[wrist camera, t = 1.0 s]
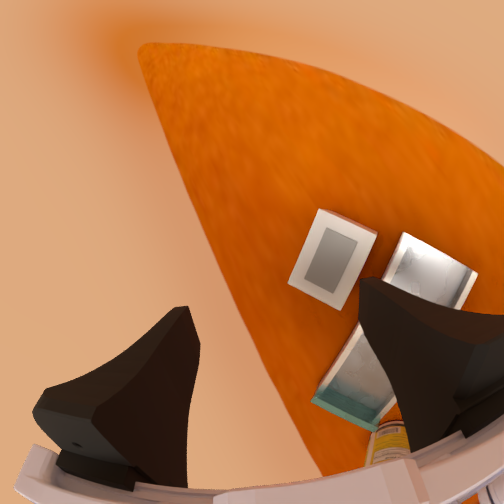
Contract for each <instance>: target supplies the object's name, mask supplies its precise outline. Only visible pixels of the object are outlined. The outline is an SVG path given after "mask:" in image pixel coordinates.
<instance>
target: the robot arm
mask: <svg viewBox="0 0 504 504" xmlns="http://www.w3.org/2000/svg"><path fill="white" fill-rule="evenodd" d="M358 320H359V322H360V325H361V327H362V330H363V332H364V335H365V337H366V339H367V341H368V343H369V345H370V346H371V348H372V350H373V352H374V353H375V355H376V357H377V359H378V360H379V362H380V364H381V366H382V368H383V369H384V371H385V373H386V375H387V377H388V379H389V381H390V384H391V386H392V389H393V391H394V394H395V397H396V400H397V403H398V406H399V409H400V412H401V415H402V418H403V422H404V426H405V429H406V433H407V437H408V442H409V447H410V452H411V454H408V455H406V456H403V457H401V458H395V459H391V460H387V461H383V462H379V463H376V464H372V465H369V466H366V467H362V468H359V469H355V470H351V471H348V472H344V473H339V474H335V475H331V476H326V477H321V478H316V479H310V480H304V481H298V482H291V483H284V484H274V485H263V486H252V487H244V488H235V489H230V490H212V489H190V488H188V483H187V430H188V429H187V428H188V416H189V409H190V403H191V398H192V394H193V389H194V384H195V380H196V375H197V371H198V366H199V358H200V341H199V338H198V335H197V332H196V329H195V326H194V323H193V319H192V316H191V313H190V310H189V307H188V306H182V307H175V308H173V309H172V310H171V311H169V312H168V313H167V314H166V315H165V316H164V317H163V318H162V319H161V320H160V321H159V322H158V323H156V324H155V325H154V326H153V327H152V328H151V329H150V330H149V331H148V332H147V333H146V334H144V335H143V336H142V337H141V338H140V339H139V340H137V341H136V342H135V343H134V344H133V345H132V346H130V347H129V348H128V349H127V350H125V351H124V352H122V353H121V354H120V355H118V356H117V357H115V358H114V359H112V360H111V361H109V362H107V363H106V364H104V365H102V366H100V367H98V368H97V369H95V370H93V371H91V372H89V373H87V374H85V375H83V376H80V377H78V378H76V379H74V380H71V381H68V382H66V383H62V384H59V385H56V386H53V387H50V388H47V389H45V390H44V392H43V394H42V395H41V397H40V399H39V400H38V402H37V404H36V405H35V407H34V409H33V411H32V413H33V417H34V419H35V421H36V423H37V424H38V425H39V426H40V428H41V429H42V430H43V431H44V432H45V433H46V434H47V435H48V436H49V437H50V438H51V439H52V440H53V441H54V442H55V443H56V444H57V445H58V446H59V447H60V448H61V449H62V450H61V452H60V454H59V455H58V454H57V453H55V452H53V451H51V450H49V449H47V448H44V447H41V446H39V445H37V444H33V445H32V448H31V450H30V452H29V454H28V456H27V458H26V460H25V462H24V464H23V467H22V469H21V471H20V473H19V476H18V478H17V480H16V483H15V485H14V490H15V491H17V492H18V493H19V494H21V495H22V496H24V497H25V498H27V499H28V500H30V501H31V502H33V503H35V504H460V503H462V502H463V501H465V500H467V499H468V498H470V497H471V496H473V495H474V494H476V493H477V492H478V497H479V501H480V504H504V315H491V314H480V313H473V312H467V311H462V310H457V309H453V308H449V307H446V306H443V305H439V304H436V303H433V302H430V301H428V300H425V299H423V298H420V297H418V296H415V295H413V294H411V293H409V292H406V291H404V290H402V289H400V288H398V287H396V286H394V285H391V284H389V283H387V282H385V281H383V280H380V279H378V278H375V277H369V278H364V279H360V293H359V316H358Z"/></svg>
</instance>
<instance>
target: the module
mask: <svg viewBox="0 0 504 504" xmlns="http://www.w3.org/2000/svg"><path fill="white" fill-rule="evenodd" d="M377 233H378V232H376V231H374V230H372V229H370V228H368V227H366V226H364V225H362V224H360V223H358V222H356V221H353V220H351V219H349V218H347V217H345V216H343V215H340V214H338V213H336V212H334V211H331V210H326V209H319V210H318V212H317V215H316V217H315V219H314V222H313V224H312V227H311V229H310V232H309V234H308V236H307V239H306V241H305V244H304V246H303V248H302V251H301V253H300V255H299V258H298V260H297V262H296V265H295V267H294V269H293V271H292V274H291V276H290V278H289V281H288V284H290V285H292V286H294V287H296V288H298V289H299V290H301V291H303V292H305V293H307V294H309V295H311V296H313V297H315V298H316V299H318V300H320V301H322V302H324V303H326V304H328V305H330V306H332V307H334V308H335V309H337V310H339V311H341V309H342V307H343V305H344V303H345V301H346V299H347V297H348V295H349V294H350V292H351V290H352V288H353V286H354V284H355V282H356V280H357V278H358V276H359V274H360V271H361V269H362V267H363V265H364V263H365V261H366V259H367V257H368V254H369V252H370V250H371V248H372V246H373V243H374V241H375V239H376V237H377Z"/></svg>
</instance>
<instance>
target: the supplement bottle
mask: <svg viewBox="0 0 504 504" xmlns="http://www.w3.org/2000/svg"><path fill="white" fill-rule="evenodd" d="M408 454H411V452H410V447H409V442H408V437H407V433H406V429H405V426H404V422H403V421H391V422H387V423H384V424H382V425H380V426H379V428H378V429H377V430H376V431H375V432H372V434H371V436H370V439H369V443H368V448H367V453H366V458H365V463H364V467H366V466H369V465H372V464H376V463H379V462H383V461H387V460H391V459H395V458H401V457H403V456H406V455H408Z"/></svg>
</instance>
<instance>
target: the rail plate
mask: <svg viewBox="0 0 504 504" xmlns="http://www.w3.org/2000/svg"><path fill="white" fill-rule="evenodd" d="M477 275H478V273H476V272H475V271H473V270H471V269H470V268H468V267H466V266H465V265H463V264H461V263H460V262H458V261H456V260H454V259H453V258H451V257H449V256H447V255H446V254H444V253H442V252H440V251H439V250H437V249H435V248H433V247H431V246H429V245H428V244H426V243H424V242H422V241H420V240H418V239H416V238H414V237H412V236H411V235H409V234H407V233H405V232H402V235H401V237H400V239H399V241H398V244H397V246H396V248H395V250H394V253H393V255H392V257H391V259H390V261H389V263H388V265H387V268H386V270H385V272H384V274H383V276H382V278H381V280H383V281H385V282H387V283H389V284H391V285H394V286H396V287H398V288H400V289H402V290H404V291H406V292H409V293H411V294H413V295H415V296H418V297H420V298H423V299H425V300H428V301H430V302H433V303H436V304H439V305H443V306H446V307H449V308H453V309H457V310H460V309H461V307H462V305H463V303H464V302H465V300H466V298H467V296H468V294H469V292H470V290H471V288H472V286H473V284H474V282H475V280H476V277H477ZM310 402H312V403H314V404H316V405H318V406H319V407H321V408H323V409H325V410H327V411H329V412H331V413H333V414H335V415H337V416H339V417H341V418H343V419H345V420H347V421H350V422H352V423H354V424H356V425H358V426H360V427H362V428H365V429H367V430H369V431H371V432H375V431H376V430H377V429H378V428H379V423H380V420H381V419H382V417H383V416H384V415H385V414H386V413H387V412H388V411H389V410H390V409H391V407H392V406H393V405H394V404H395V403H396V402H397V400H396V397H395V394H394V391H393V389H392V386H391V384H390V381H389V379H388V377H387V375H386V373H385V371H384V369H383V368H382V366H381V364H380V362H379V360H378V359H377V357H376V355H375V353H374V352H373V350H372V348H371V346H370V345H369V343H368V341H367V339H366V337H365V335H364V332H363V330H362V327H361V325H360V322H359V321H358V323H357V324H356V326H355V328H354V329H353V331H352V333H351V335H350V336H349V338H348V340H347V341H346V343H345V344H344V346H343V348H342V349H341V351H340V352H339V354H338V356H337V357H336V359H335V360H334V362H333V363H332V365H331V366H330V368H329V369H328V371H327V372H326V374H325V375H324V377H323V378H322V380H321V381H320V383H319V384H318V386H317V389H316V391H315V393H314V395H313V397H312V399H311V401H310Z"/></svg>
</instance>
